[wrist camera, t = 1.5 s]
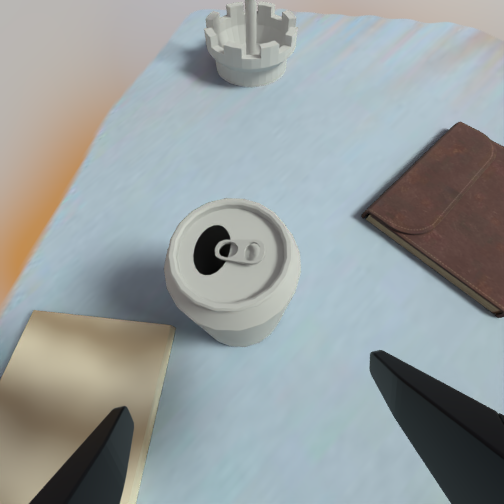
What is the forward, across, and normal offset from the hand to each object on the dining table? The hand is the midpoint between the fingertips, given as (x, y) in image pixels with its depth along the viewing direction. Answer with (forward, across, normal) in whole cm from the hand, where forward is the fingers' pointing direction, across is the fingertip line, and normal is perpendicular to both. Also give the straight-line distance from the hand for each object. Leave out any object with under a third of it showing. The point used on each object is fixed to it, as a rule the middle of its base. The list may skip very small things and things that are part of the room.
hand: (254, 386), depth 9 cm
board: (+9, +14, +9) cm, 19 cm away
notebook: (+18, -27, +1) cm, 32 cm away
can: (+13, 0, +5) cm, 14 cm away
